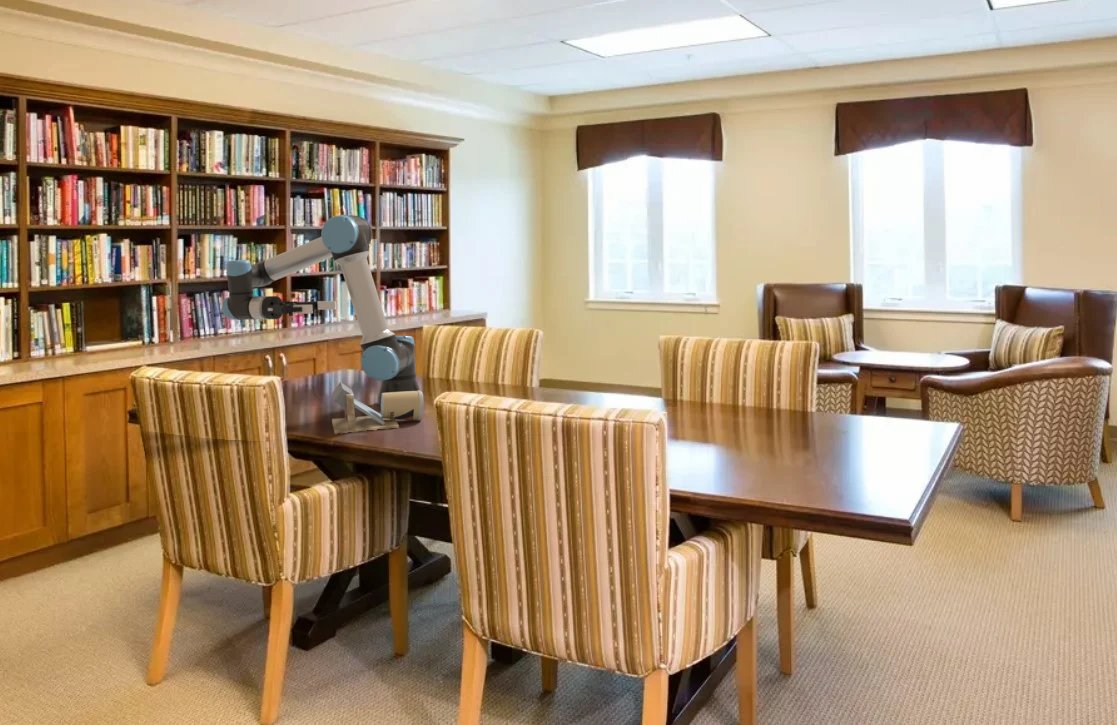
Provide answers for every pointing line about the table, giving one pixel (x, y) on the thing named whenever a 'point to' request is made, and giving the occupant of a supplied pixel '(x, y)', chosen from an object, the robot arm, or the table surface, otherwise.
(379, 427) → the frame
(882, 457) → the table surface
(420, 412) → the coffee cup
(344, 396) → the trapdoor
